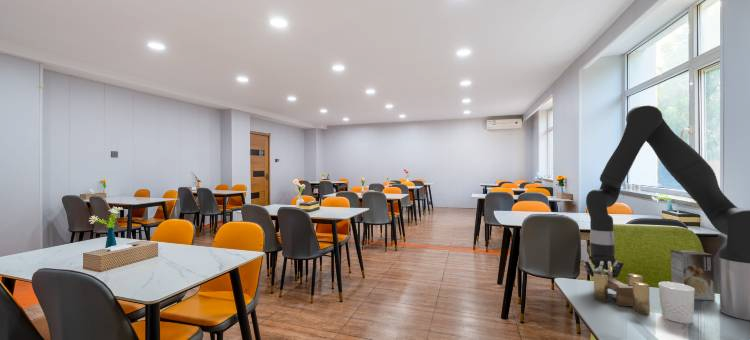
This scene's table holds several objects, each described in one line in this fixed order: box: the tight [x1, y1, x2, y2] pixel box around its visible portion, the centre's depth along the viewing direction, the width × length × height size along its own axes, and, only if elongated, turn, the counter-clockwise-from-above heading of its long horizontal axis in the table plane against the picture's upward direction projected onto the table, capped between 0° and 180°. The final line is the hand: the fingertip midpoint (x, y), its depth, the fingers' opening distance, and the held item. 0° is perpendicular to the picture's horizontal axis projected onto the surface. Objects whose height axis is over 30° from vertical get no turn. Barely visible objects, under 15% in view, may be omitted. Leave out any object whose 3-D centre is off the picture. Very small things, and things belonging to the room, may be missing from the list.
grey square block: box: [608, 293, 617, 304], centre depth 108 cm, size 4×4×2 cm
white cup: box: [658, 281, 695, 325], centre depth 94 cm, size 8×8×10 cm
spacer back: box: [632, 282, 651, 316], centre depth 99 cm, size 4×4×9 cm
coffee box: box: [670, 249, 716, 301], centre depth 112 cm, size 9×6×16 cm
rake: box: [602, 272, 633, 307], centre depth 111 cm, size 16×5×6 cm, turn 172°
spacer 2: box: [627, 273, 644, 287], centre depth 107 cm, size 4×4×9 cm
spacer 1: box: [593, 272, 609, 303], centre depth 109 cm, size 4×4×9 cm
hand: (602, 287), depth 117 cm, fingers closed on rake, 3 cm apart
